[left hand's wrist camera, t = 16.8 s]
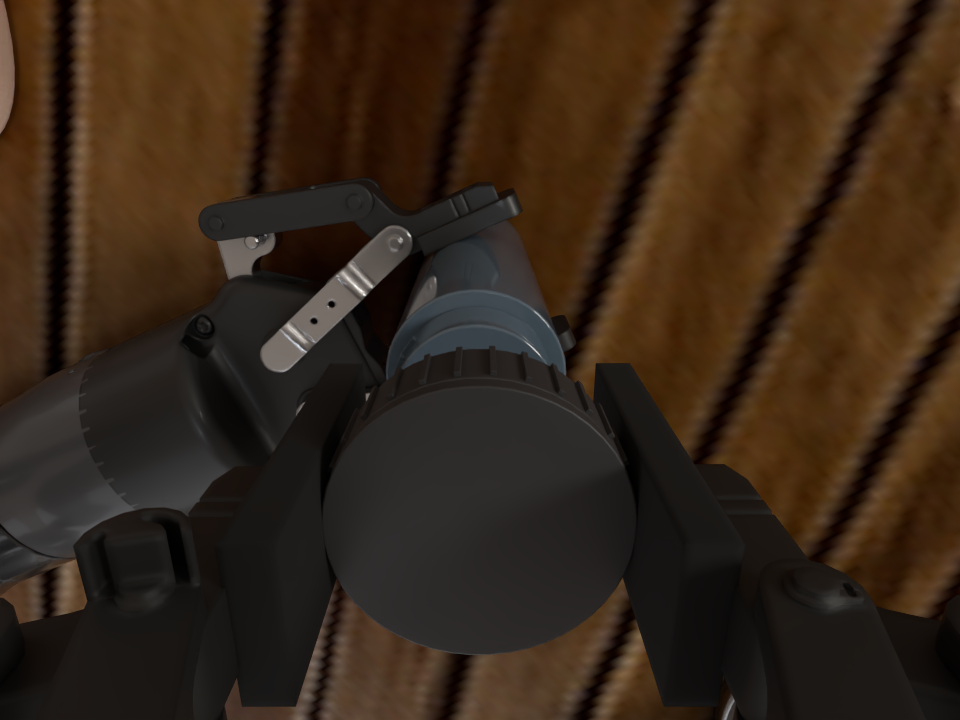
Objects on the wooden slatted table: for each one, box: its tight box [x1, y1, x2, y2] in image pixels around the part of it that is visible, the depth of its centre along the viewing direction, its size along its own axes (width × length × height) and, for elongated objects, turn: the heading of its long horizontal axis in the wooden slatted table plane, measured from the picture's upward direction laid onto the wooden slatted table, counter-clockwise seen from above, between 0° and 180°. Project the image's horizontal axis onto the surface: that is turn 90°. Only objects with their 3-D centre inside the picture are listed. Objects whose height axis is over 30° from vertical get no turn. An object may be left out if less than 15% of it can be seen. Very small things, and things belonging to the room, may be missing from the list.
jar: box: [386, 220, 566, 381], centre depth 22 cm, size 5×5×16 cm
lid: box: [322, 346, 637, 655], centre depth 11 cm, size 5×5×2 cm
